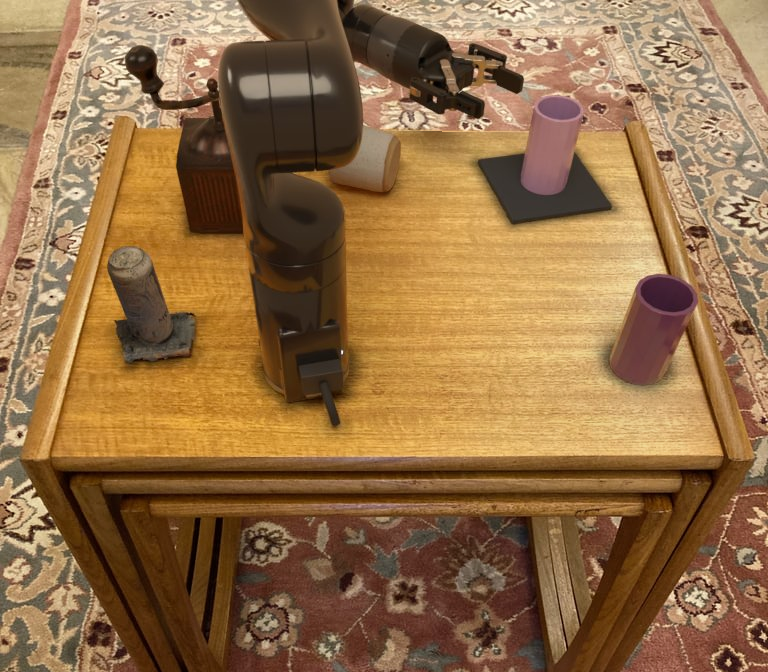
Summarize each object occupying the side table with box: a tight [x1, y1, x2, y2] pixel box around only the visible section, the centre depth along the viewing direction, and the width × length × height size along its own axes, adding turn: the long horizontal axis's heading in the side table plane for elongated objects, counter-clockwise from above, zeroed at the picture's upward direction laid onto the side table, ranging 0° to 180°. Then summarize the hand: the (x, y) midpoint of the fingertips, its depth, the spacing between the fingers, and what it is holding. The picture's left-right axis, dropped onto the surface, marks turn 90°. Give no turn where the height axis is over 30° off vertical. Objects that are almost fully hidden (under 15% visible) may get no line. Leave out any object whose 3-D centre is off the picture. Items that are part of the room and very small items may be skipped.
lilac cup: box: [520, 94, 585, 195], centre depth 99 cm, size 6×6×10 cm
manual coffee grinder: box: [124, 44, 244, 235], centre depth 91 cm, size 16×11×18 cm
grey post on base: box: [106, 245, 197, 365], centre depth 80 cm, size 9×8×12 cm
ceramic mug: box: [328, 124, 402, 193], centre depth 100 cm, size 11×8×8 cm
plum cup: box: [608, 273, 699, 386], centre depth 81 cm, size 6×6×10 cm
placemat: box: [477, 151, 613, 225], centre depth 103 cm, size 14×14×1 cm
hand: (502, 98), depth 99 cm, fingers open, 8 cm apart
